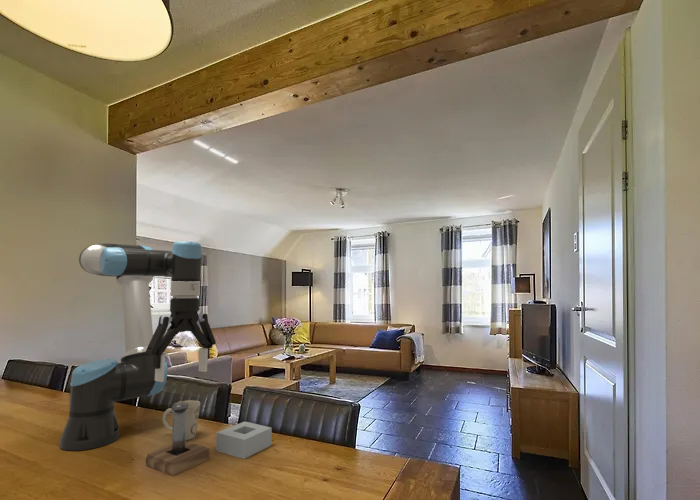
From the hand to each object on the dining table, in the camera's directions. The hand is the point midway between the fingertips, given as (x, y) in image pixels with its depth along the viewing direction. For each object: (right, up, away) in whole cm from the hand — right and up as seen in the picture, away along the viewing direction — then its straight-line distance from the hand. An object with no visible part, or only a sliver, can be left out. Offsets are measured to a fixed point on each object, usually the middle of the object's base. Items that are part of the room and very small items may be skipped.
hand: (182, 376), depth 108 cm
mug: (-8, -24, +16) cm, 30 cm away
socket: (+15, -23, +7) cm, 29 cm away
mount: (0, -22, -2) cm, 22 cm away
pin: (0, -22, -2) cm, 22 cm away
